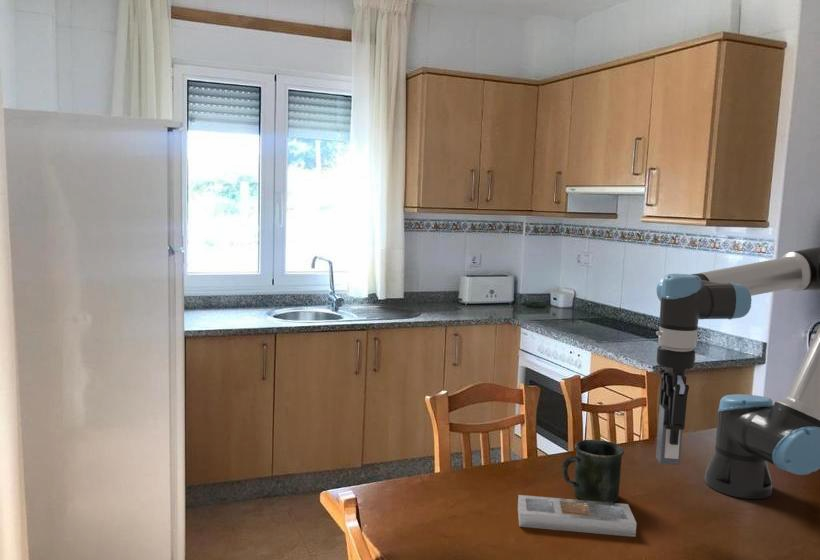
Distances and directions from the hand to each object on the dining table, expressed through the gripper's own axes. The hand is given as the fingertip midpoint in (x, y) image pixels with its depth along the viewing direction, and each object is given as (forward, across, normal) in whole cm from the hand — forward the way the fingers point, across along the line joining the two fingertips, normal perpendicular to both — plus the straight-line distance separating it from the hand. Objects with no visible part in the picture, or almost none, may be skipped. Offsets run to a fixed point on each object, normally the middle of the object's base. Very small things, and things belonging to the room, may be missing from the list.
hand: (668, 453), depth 147 cm
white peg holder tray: (+16, +3, -19) cm, 25 cm away
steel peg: (+2, 0, 0) cm, 2 cm away
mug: (+16, -10, -14) cm, 24 cm away
